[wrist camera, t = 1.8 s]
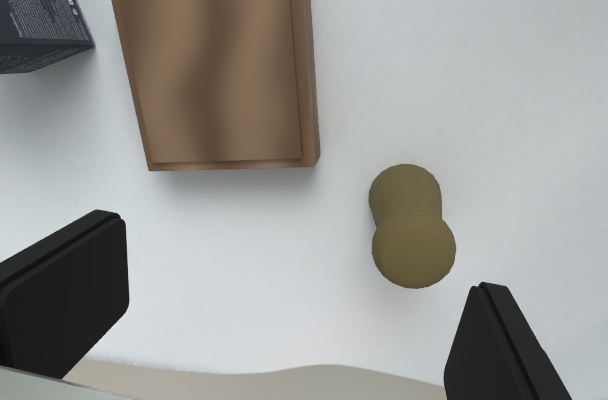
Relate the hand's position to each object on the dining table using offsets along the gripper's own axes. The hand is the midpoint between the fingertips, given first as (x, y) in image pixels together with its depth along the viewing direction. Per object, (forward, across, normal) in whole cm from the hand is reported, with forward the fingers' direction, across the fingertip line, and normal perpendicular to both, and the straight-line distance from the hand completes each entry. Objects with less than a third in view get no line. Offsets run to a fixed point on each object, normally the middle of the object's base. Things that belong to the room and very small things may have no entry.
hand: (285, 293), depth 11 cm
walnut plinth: (+24, +10, -3) cm, 26 cm away
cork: (+24, -6, +5) cm, 25 cm away
